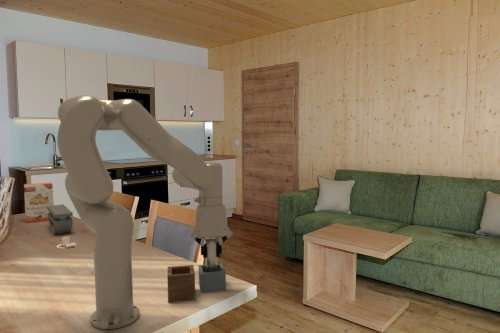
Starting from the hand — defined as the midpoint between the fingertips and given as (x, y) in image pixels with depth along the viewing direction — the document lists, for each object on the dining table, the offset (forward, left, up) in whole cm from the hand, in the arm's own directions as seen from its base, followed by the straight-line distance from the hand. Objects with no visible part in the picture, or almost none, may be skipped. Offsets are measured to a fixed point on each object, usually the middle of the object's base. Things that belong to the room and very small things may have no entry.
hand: (211, 255), depth 123 cm
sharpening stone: (+85, +68, -10) cm, 109 cm away
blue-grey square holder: (0, 0, -10) cm, 10 cm away
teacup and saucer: (+54, +59, -11) cm, 81 cm away
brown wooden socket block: (-5, +10, -10) cm, 15 cm away
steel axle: (0, 0, -8) cm, 8 cm away
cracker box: (+110, +85, -10) cm, 139 cm away
